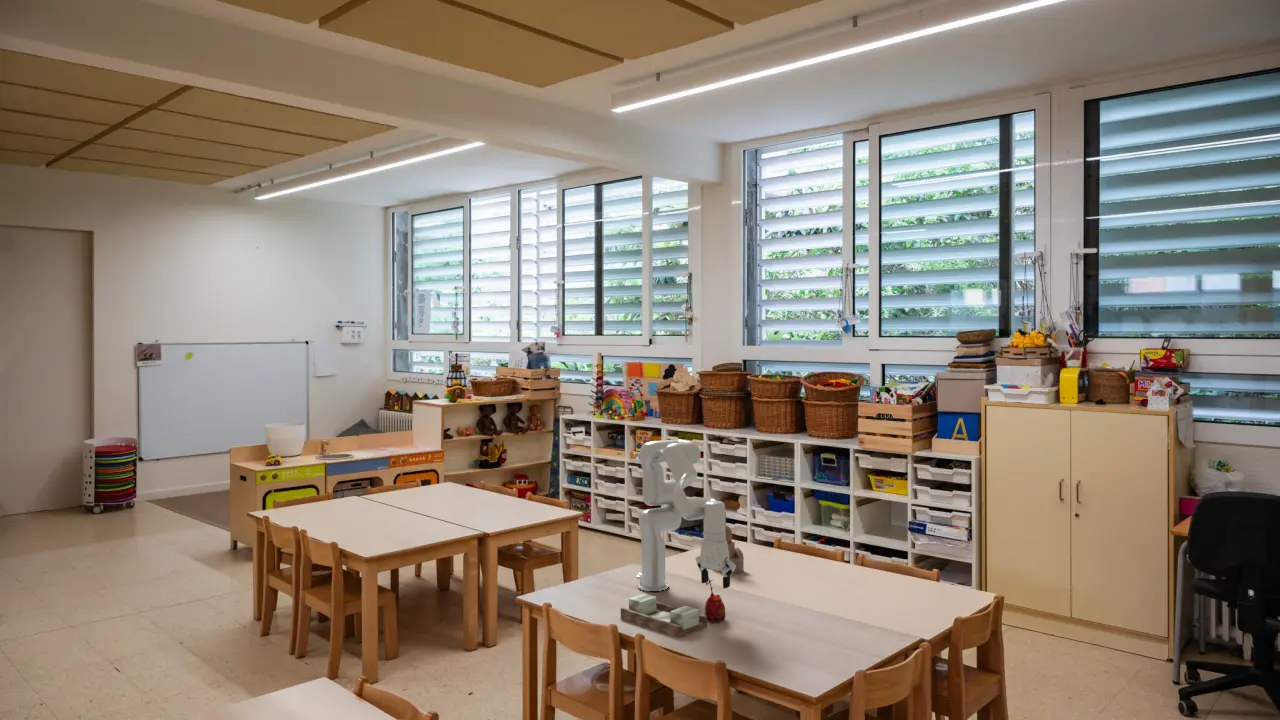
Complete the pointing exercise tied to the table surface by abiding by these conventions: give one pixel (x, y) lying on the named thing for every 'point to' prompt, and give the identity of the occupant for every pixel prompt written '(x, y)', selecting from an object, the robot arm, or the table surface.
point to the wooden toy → (734, 551)
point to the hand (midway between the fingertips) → (715, 584)
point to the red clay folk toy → (714, 607)
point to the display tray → (663, 616)
